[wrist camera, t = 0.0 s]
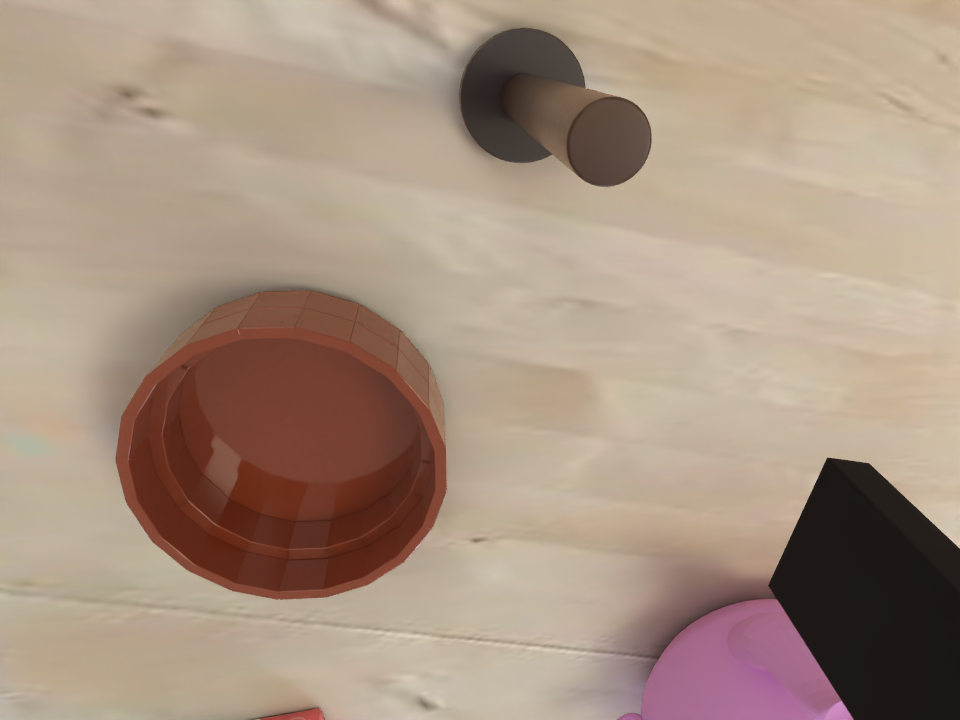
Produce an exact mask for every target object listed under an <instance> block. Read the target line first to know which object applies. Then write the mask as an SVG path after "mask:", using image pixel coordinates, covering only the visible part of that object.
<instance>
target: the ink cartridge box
mask: <svg viewBox="0 0 960 720" xmlns="http://www.w3.org/2000/svg"><path fill="white" fill-rule="evenodd" d="M255 720H325V719H324V717H323V714H322V712H321V709H320V708H316V709H313V710H307V711H301V712H296V713H290V714H284V715H279V716H273V717H267V718H261V719H255Z"/></svg>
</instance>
